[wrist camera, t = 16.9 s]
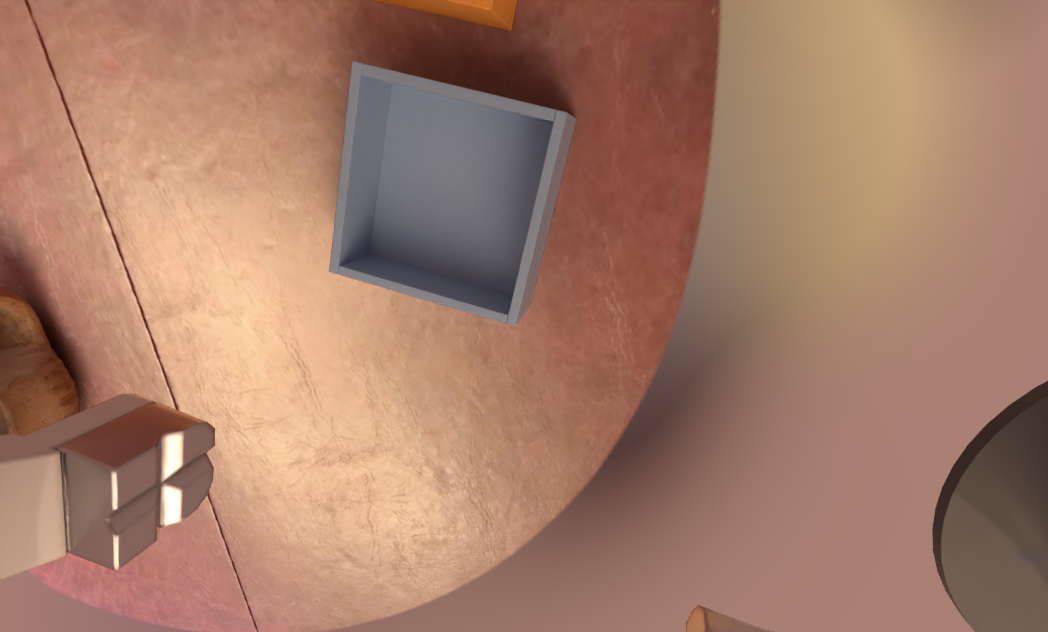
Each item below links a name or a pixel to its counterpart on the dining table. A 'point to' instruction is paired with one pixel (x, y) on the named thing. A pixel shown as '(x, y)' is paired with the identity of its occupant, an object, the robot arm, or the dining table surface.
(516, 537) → the dining table surface
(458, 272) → the blue bin
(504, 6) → the amber bin
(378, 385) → the dining table surface
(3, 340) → the bowl
